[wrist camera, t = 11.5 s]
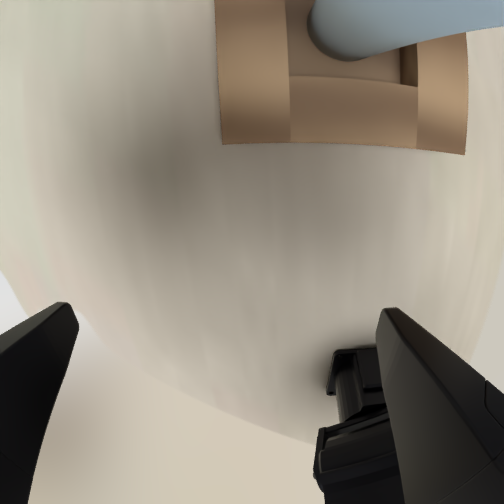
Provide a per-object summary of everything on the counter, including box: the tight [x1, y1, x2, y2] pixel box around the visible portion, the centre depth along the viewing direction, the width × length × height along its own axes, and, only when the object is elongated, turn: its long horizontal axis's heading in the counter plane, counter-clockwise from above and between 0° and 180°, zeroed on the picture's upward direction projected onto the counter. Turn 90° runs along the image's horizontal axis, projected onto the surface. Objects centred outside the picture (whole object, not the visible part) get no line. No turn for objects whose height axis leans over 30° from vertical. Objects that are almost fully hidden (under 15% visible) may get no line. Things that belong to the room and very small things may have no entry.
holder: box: [214, 0, 468, 155], centre depth 13 cm, size 14×14×3 cm
